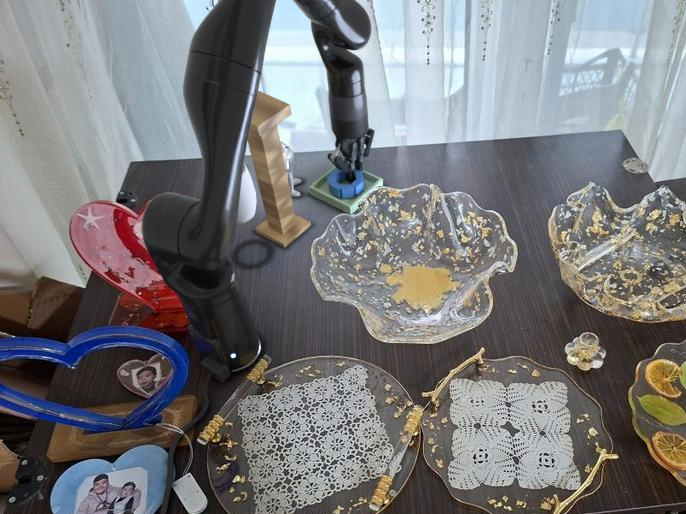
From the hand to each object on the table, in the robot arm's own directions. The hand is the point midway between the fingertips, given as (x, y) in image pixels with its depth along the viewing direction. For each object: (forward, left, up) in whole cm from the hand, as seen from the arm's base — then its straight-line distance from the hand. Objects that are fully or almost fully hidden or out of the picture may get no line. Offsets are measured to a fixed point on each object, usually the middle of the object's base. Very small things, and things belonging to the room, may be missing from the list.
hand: (354, 178), depth 134 cm
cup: (-29, +3, -1) cm, 29 cm away
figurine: (-9, +10, -1) cm, 14 cm away
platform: (-20, +3, -1) cm, 20 cm away
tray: (-3, 0, -1) cm, 3 cm away
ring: (-3, 0, 0) cm, 3 cm away
